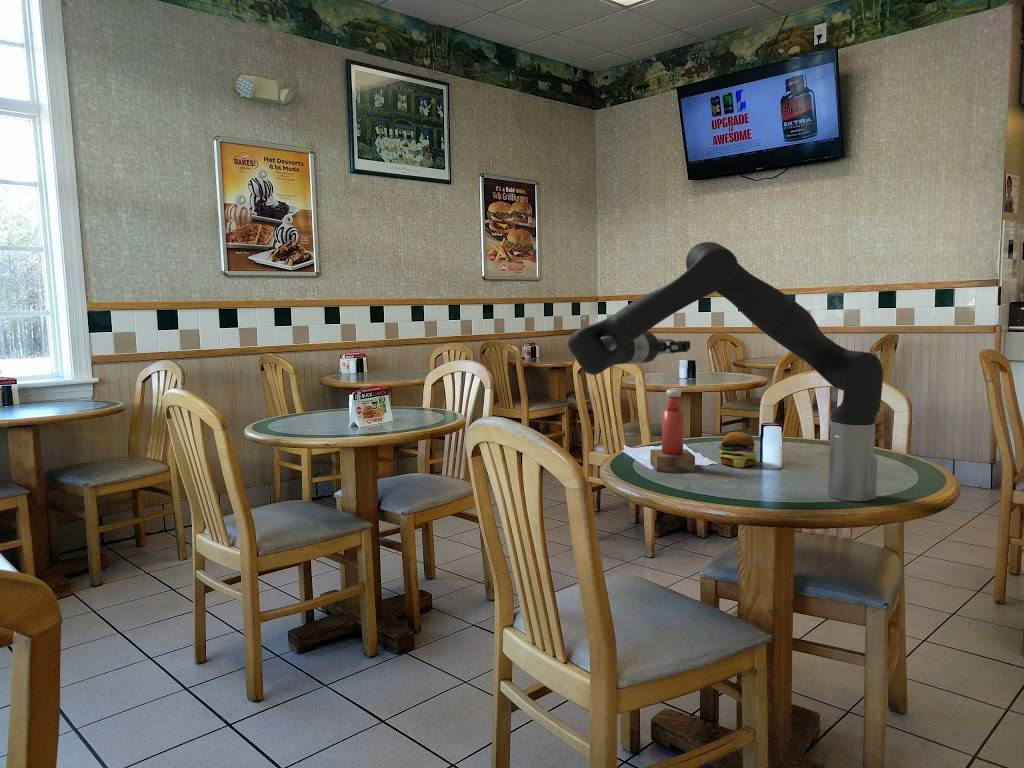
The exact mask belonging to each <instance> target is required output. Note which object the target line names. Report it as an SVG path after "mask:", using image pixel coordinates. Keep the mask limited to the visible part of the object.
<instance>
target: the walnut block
mask: <svg viewBox="0 0 1024 768" xmlns="http://www.w3.org/2000/svg"><path fill="white" fill-rule="evenodd" d="M649 451H650V456H649V457H650V459H649V461H650V464H649V465H651V467H653V469H654V470H655V472H660V473H661V472H663V473H664V472H667V473H668V472H669V473H670V472H672V473H674V472H677V473H678V472H696V456H695V454H693V453H691V452H690V451H689V450H688V449H686V448H683V454H681V455H667V454H663V453H662V448H661V449H658V448H657V449H655V448H654V449H650V450H649Z"/></svg>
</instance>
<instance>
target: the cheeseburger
mask: <svg viewBox="0 0 1024 768" xmlns="http://www.w3.org/2000/svg"><path fill="white" fill-rule="evenodd" d="M755 445H756V444H755V441H754V438H753V437H752V436H751V435H749V434H747V433H745V432H740V431H731V432H729V433H727V434H726V435H725V436H724V438H723V439H722V441H721V443H720V446H718V449H719V451H718V453H719V454H720V456H719V458H720V463H721V464H723V465H728V466H733V468H736V469H741V468H745V467H747V466H753V465H755V464H756V462H757V460H756V458H757V455H756V454H757V451H756V450H755Z"/></svg>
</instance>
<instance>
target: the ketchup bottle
mask: <svg viewBox="0 0 1024 768" xmlns="http://www.w3.org/2000/svg"><path fill="white" fill-rule="evenodd" d="M666 397H667V403H666V404H667V407H666V409H663V410H662V426H661V427H662V428H661V429H662V431H661V432H662V433H661V435H662V436H661V449H662V453H663V454H667V455H681V454H683V449H684V429H685V428H684V422H685V411H684V410H683V409H680V406H681V403H680V402H681V399H680V397H682V390H681V389H666Z"/></svg>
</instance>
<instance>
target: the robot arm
mask: <svg viewBox="0 0 1024 768" xmlns="http://www.w3.org/2000/svg"><path fill="white" fill-rule="evenodd" d="M685 266H686V271H685V272H684V273H683V274H681V275H680V276H679V277H677V278H675V279H674V280H673V281H671V282H669V283H668V284H666V285H665V286H662V287H661V288H658V289H656V290H654V291H651V292H649V293H647V294H645V295H643V296H641V297H639V298H637V299H635V300H634V301H632V302H630V303H629V304H627V305H625V306H624V307H622V309H620V310H619V311H617V312H616V313H615V314H613V315H612V316H609V317H608V318H605V319H603V320H600V321H598V322H596V323H593V324H591V325H587V326H583V327H582V328H579V329H577V330H576V331H574V332H573V333H572V334H571V335H570V337H569V339H568V340H567V341H568V342H567V346H568V349H569V352H571V354H572V356H573V357H574V358H575V360H576V361H577V364H578V365H579V366H580V368H581V369H582V371H583V372H584V373H586V374H588V375H591V376H596V375H599V374H600V373H602V372H604V371H605V370H607V369H609V368H611V367H614V366H616V365H617V366H618V365H623V364H625V365H638V364H647V363H650V362H652V361H653V360H655V359H656V358H657V356H661V355H663V354H666V355H667V354H671V355H672V354H675V353H688V352H689V350H690V349H691V341H690V340H681V339H680V340H674V339H672V338H664V339H663V338H661V337H660V338H659V337H656V335H655V334H653V333H652V332H651V331H649V330H650V329H652V328H654V327H656V326H657V325H659V323H660V322H662V321H664V320H665V319H666V320H667V318H669V317H670V316H672V315H673V314H675V313H677V312H679V311H681V310H682V309H684V308H686V307H688V306H689V305H692V304H693V303H695V302H697V301H699V300H701V299H704V298H705V297H708V296H710V295H711V294H714V293H717V295H719V296H722V297H723V298H725V299H726V300H727V301H729V302H730V303H731V304H732V305H733V306H734V307H735V308H736V309H737V310H738V311H739V312H741V314H742V315H744V317H746V319H748V321H750V322H751V324H753V325H754V326H755V327H757V328H758V329H759V330H760V331H762V332H763V333H765V335H767V336H768V337H770V338H771V339H772V340H774V341H775V342H777V343H778V344H780V345H781V346H782V347H784V348H785V349H787V350H788V351H789V352H791V353H792V354H794V355H795V356H797V357H798V358H799V359H802V360H803V361H805V362H806V363H807V364H808V365H809V366H810V367H811V368H813V369H814V370H815V371H816V372H817V373H818V374H819V375H820V376H821V377H822V378H823V379H824V380H825V381H826V382H828V383H829V384H830V386H832V387H834V388H835V389H837V390H841V391H843V394H842V401H841V403H840V404H839V405H838V406H836V407H833V408H832V409H831V413H830V429H829V430H830V432H829V433H830V434H829V436H830V437H829V453H828V454H829V455H828V456H829V457H828V460H829V461H828V483H827V495H828V496H829V497H831V498H833V499H837V500H842V501H847V502H867V501H871V500H876V499H877V484H878V483H877V481H878V480H877V479H878V465H879V464H878V461H879V460H878V457H877V456H875V440H876V439H875V436H876V435H875V434H876V422H877V421H876V419H877V416H878V413H879V411H880V408H881V401H882V392H883V383H884V381H883V379H884V371H883V365H882V363H881V360H880V358H878V356H876V355H875V354H874V353H870V352H867V351H858V350H857V351H856V350H849V349H846V348H844V347H843V346H841V345H839V344H837V343H836V342H834V341H833V340H832V339H830V338H829V337H828V336H826V335H825V334H824V333H823V332H822V331H821V329H820V328H819V326H818V324H817V322H816V320H815V319H814V317H813V316H812V315H811V313H810V312H809V311H808V310H807V309H806V308H804V307H803V306H802V305H800V303H798V302H797V301H795V300H794V299H793V298H792V297H790V296H789V295H787V294H785V293H784V292H782V291H781V290H779V289H778V288H777V287H774V286H773V285H771V284H769V283H767V282H765V281H764V280H761V279H760V278H758V277H756V276H755V275H753V274H752V273H751V272H749V271H748V270H746V269H745V268H744V267H743V266H742V265H741V264H739V263H738V259H737V257H736V255H735V254H734V252H732V251H731V250H730V249H728V248H726V247H725V246H724V245H721V244H720V243H716V242H712V241H705V242H704V241H703V242H700V243H697V244H695V245H694V246H692V248H690V250H689V251H688V253H687V255H686V259H685ZM667 342H668V343H667Z"/></svg>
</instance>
